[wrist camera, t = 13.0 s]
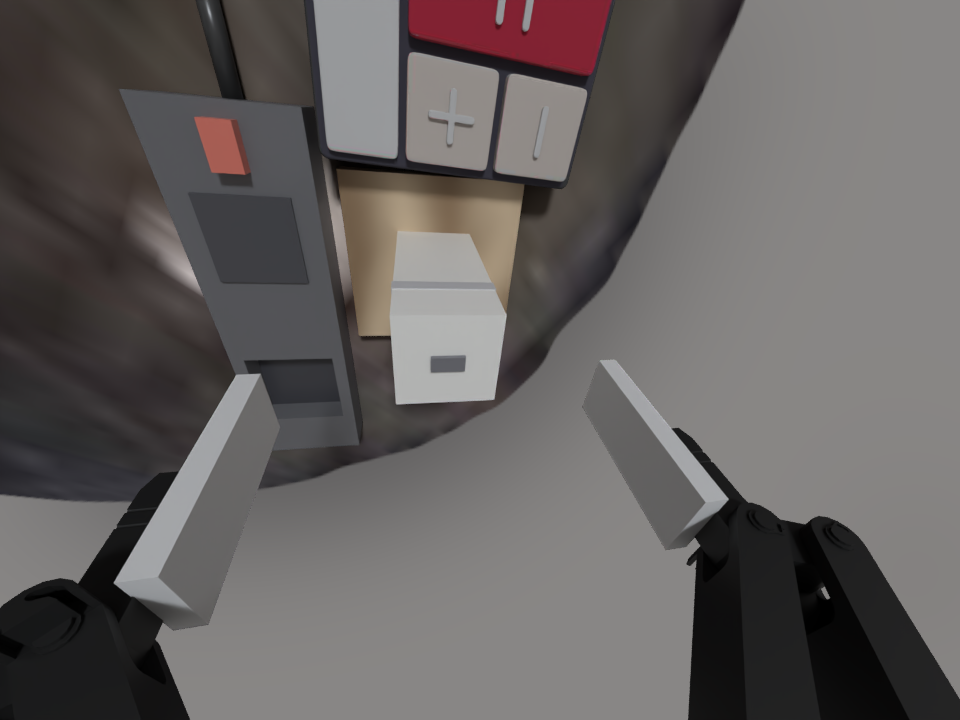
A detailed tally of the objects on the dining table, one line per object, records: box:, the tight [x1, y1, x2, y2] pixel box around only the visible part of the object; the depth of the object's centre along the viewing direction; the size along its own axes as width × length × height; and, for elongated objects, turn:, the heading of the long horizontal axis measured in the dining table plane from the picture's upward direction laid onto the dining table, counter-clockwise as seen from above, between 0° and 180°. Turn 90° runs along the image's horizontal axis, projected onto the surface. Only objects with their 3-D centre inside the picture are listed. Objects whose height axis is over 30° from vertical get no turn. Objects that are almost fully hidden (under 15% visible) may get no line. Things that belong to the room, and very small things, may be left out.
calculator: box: [304, 0, 615, 189], centre depth 19 cm, size 11×4×15 cm
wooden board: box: [336, 166, 525, 336], centre depth 26 cm, size 12×12×1 cm
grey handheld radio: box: [119, 0, 363, 451], centre depth 24 cm, size 32×8×4 cm, turn 175°
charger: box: [390, 231, 507, 404], centre depth 21 cm, size 5×5×12 cm
